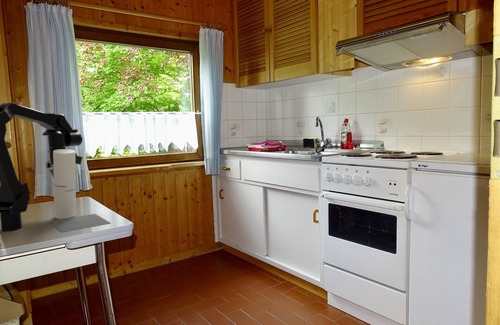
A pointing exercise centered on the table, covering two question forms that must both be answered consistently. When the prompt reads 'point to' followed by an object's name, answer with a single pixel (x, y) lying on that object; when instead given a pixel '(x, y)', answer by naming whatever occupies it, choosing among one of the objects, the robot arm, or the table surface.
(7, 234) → the table surface
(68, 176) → the cylindrical container
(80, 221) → the mat
